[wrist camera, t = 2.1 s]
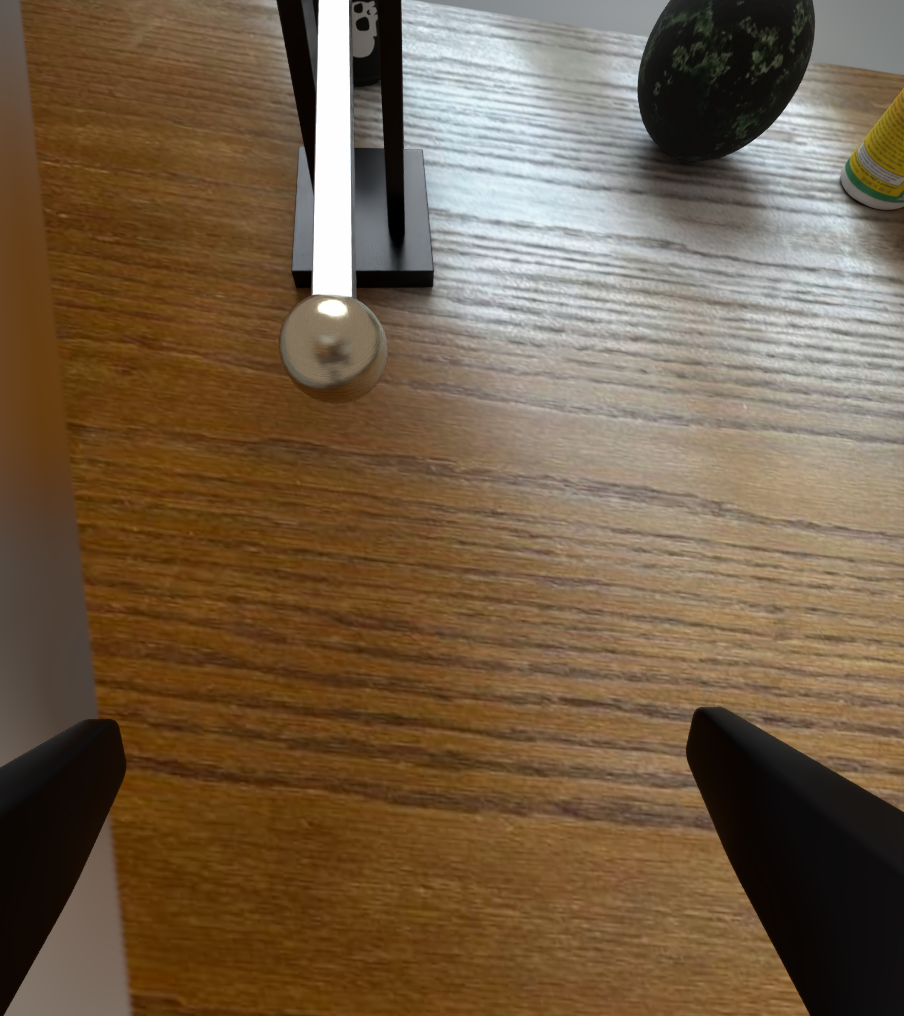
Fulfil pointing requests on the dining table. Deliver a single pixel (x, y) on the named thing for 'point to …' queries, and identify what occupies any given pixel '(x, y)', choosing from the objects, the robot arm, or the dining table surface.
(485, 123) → the dining table surface
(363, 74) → the beverage can
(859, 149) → the supplement bottle
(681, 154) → the decorative stone
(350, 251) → the lever
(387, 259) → the lever bracket
